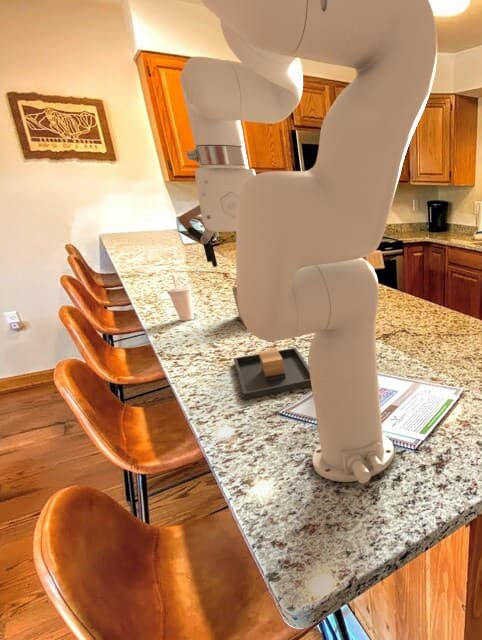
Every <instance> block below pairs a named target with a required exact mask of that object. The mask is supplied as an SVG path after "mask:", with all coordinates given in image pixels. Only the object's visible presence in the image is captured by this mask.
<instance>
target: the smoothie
mask: <svg viewBox="0 0 482 640" xmlns="http://www.w3.org/2000/svg"><path fill="white" fill-rule="evenodd" d="M171 277H172V280H173V285H174V287H171V288H168V289H167V290H166V292H167V294H168V295H169V297H170V299H171V302H172V304H173V306H174V309H175V311H176V313H177V316H178V319H179V320H180V321H183V322H186V321H191V320H194V319H195V318H194V310H193V302H192V294H191V292H192V289H191V287H189V286H178V284H177V281H176V280H177V279H176V276H175V274H172V275H171Z"/></svg>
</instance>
